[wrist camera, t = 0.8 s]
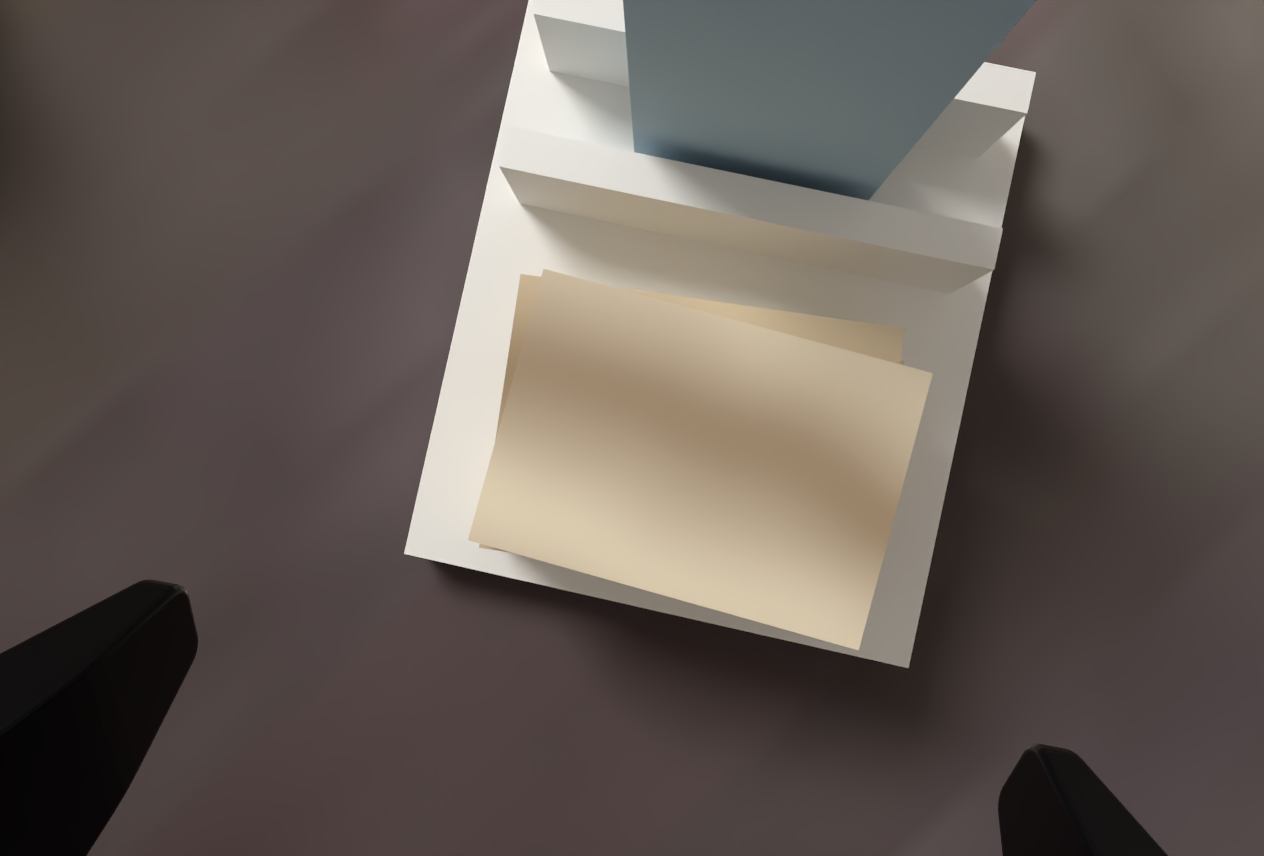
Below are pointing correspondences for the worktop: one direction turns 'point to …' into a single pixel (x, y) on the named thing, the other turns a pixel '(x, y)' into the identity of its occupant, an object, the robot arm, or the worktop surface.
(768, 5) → the blue rectangular block
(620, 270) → the rack
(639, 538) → the offcut stack
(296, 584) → the worktop surface
